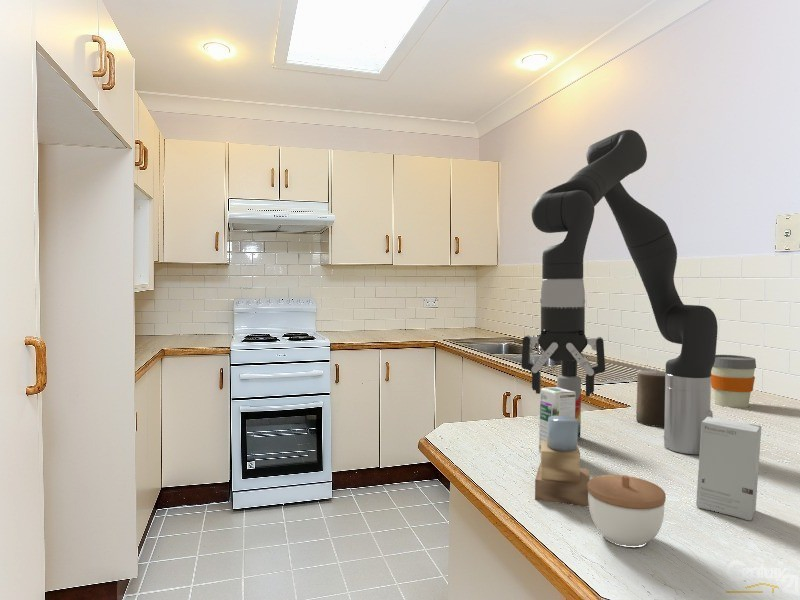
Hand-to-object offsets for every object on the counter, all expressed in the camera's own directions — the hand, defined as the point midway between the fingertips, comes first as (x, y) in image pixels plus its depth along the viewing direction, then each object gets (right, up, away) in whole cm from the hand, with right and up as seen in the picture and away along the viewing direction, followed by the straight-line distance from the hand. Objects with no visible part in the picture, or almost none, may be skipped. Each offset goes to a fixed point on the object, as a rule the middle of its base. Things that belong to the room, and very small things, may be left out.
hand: (562, 394), depth 94 cm
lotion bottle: (+12, -17, +36) cm, 41 cm away
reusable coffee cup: (+75, -16, +71) cm, 105 cm away
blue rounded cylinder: (0, -10, 0) cm, 10 cm away
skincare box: (+26, -19, -6) cm, 33 cm away
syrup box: (+6, -18, +23) cm, 30 cm away
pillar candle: (+41, -17, +50) cm, 67 cm away
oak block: (0, -15, +1) cm, 15 cm away
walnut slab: (0, -19, +1) cm, 19 cm away
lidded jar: (+4, -19, -16) cm, 25 cm away
